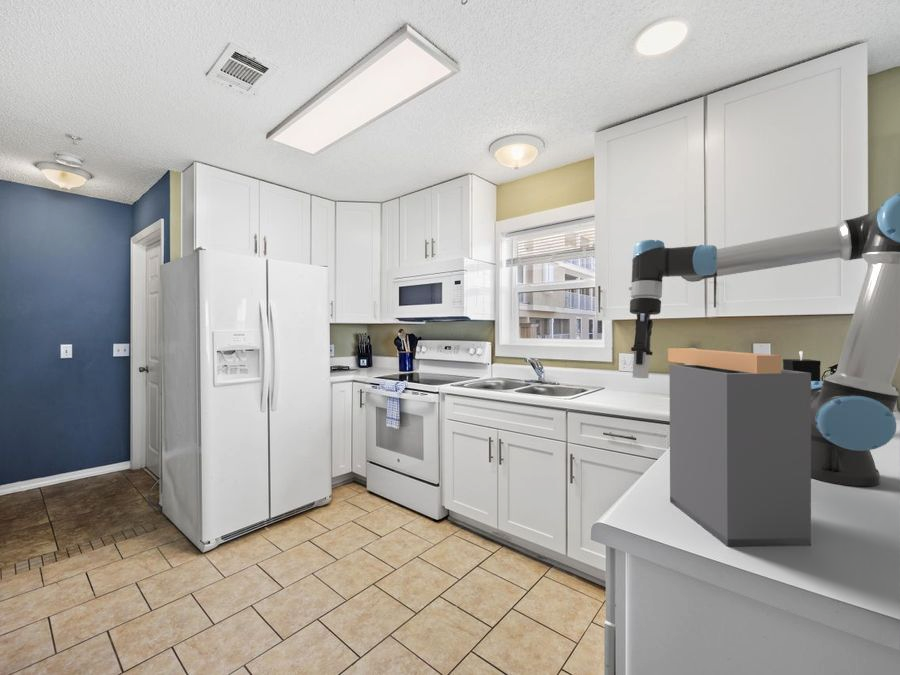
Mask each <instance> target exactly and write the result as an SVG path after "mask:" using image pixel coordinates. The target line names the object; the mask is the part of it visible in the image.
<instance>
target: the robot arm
mask: <svg viewBox="0 0 900 675" xmlns="http://www.w3.org/2000/svg"><path fill="white" fill-rule="evenodd" d="M632 254H633V256H632V262H631V264H632V267H631V286H629V287H628V290H629V291H631V292H630V298H631V299H630V300H629V313H630V314H632V315H636V319H635V328H634V329H635V335H634V342H633V347H632V346H631V348H630V350H631V352H633V365H632V378H635V379H636V378H638V379H649V377H650V376H649V374H650V359H651V358H650V356H653V351H652V350H651V336H652V331H653V330H652V328H653V326H654V323H653V322H654V321H653V320H652V319H651V315H654V316H655V315H660V313H661V307H662V300H661V298H662V295H663V277H664V278H665V277H667V278H668V277H681V278H682V279H684V280H685V281H687V282H692V283H694V282H701V281H702V280H706V279H713V278H717V277H723V276H729V275H730V276H731V275H736V274H742V273H748V272H749V273H750V272H754V271H760V270H761V271H763V270H768V269H773V268H783V267H786V266H794V265H800V264H805V263H806V264H807V263H813V262H819V261H824V260H832V259H837V258H839V259H841V260H843V261H853V260H860V259H863V260H864V261H865V262H866V263H867V265H868V267H867V270H866V272H865V276H864V280H863V283H862V286H861V289H860V292H859V295H858V298H857V299H858V300H857V303H856V304H855V305H856V306H855V309H854V313H853V316H852V318H851V323H850V325H849V328H848V330H847V331H848V332H847V334H846V338H845V341H844V344H843V347H842V351H841V355H840V356H839V361H838V364H837V367H836V371H835V372H834V373H833V374H830V375H828V376H825V377H824V378H823V380H822V381H821V380H820V381H811V479H815V480H818V481H823V482H828V483H833V484H837V485H845V486H855V487H875V486H878V485H879V484H880V483H881V482H880V481H881V480H880V479H881V478H880V477H881V475H880V472H879V470H878V469H877V467H876V463H875V460H874V458H873V454H872V453H871V450H875V449H879V448H881V447H884V446H886V445H887V444H888V443H890V441H891V440H892V439H893V438H894V436H895V434H896V432H897V419H896V416H895V415H894V411H895V408H896V406H897V401H898V398H899V396H900V394H899V392H898V391H897V390H896V389H895V388H894V386H893V385H892V382H893V379H894V376H895V374H896V371H897V366H898V364H899V361H900V192H899V193H896V194H894V195H893V196H890V197H889V198H888V199H887V200H885V201H884V203H882V205H881V206H880V207H878V208H877V209H875V210H874V211H871V212H869V213H867V214H864V215H861V216H858V217H854V218H849V219H844V220H841V221H839V222H838V223H837V225H835V226H831V227H825V228H821V229H819V228H818V229H815V230H809V231H805V232H804V231H803V232H800V233H795V234H789V235H785V236H780V237H773V238H768V239H763V240H758V241H752V242H747V243H742V244H736V245H731V246H726V247H721V248H718V247H717V246H716V245H713V244H707V245H705V244H699V245H693V246H692V245H691V246H690V245H689V246H679V247H678V246H677V247H666V246H665V243H664V241H662V240H658V239H645V240H641V241H638V242H637V243H636V244H635V245H634V247H633V253H632Z"/></svg>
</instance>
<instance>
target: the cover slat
mask: <svg viewBox="0 0 900 675" xmlns="http://www.w3.org/2000/svg"><path fill="white" fill-rule="evenodd" d="M667 361H668V362H671V363H679V364H684V365H699V366H706V367H713V368H720V369H727V370H734V371H741V372H748V373H756V374H771V373H781V369H782V355H781V354H780V355H779V354H767V353H755V352H743V351H742V352H741V351H727V350H715V349H714V350H713V349H704V348H703V349H702V348H701V349H700V348H690V347H688V348H687V347H682V348H681V347H680V348H679V347H677V348H676V347H673V348H672V347H671V348H670V347H669V348H667Z"/></svg>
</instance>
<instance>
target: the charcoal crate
mask: <svg viewBox="0 0 900 675" xmlns="http://www.w3.org/2000/svg"><path fill="white" fill-rule="evenodd" d="M668 368H669V373H668V374H669V503H671V504H672V505H674V506H675V507H676V508H678V509H679V510H680V511H682V512H683V513H684V514H685V515H686V516H688V517H689V518H690V519H692V520H693V521H694V522H695V523H697V524H698V525H699V526H701V528H703V529H704V530H706V531H707V532H708V533H710V534H711V535H712V536H714V538H716V539H717V540H719V542H721V543H722V544H724V545H725V546H726V547H771V546H772V547H780V546H781V547H783V546H785V547H789V546H790V547H791V546H793V547H794V546H796V547H797V546H811V545H812V478H811V373H807V372H799V371H790V370H783V368H781V373H771V374H756V373H748V372H741V371H734V370H727V369H720V368H713V367H706V366H699V365H692V364H669V366H668Z"/></svg>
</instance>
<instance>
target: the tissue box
mask: <svg viewBox="0 0 900 675" xmlns="http://www.w3.org/2000/svg"><path fill="white" fill-rule="evenodd" d="M803 352H804V351H803V350H800V351H798V354H799V359H798V358H795V359H793V358H790V359H789V358H788V359H787V358H783V359H782V364H783V365H782V367H783V368H782V370H790V371H799V372H807V373H811V381H821V365H822V364H821V360H816V359H808V358H807V359H803V356H804V355H803V354H804V353H803Z"/></svg>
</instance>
